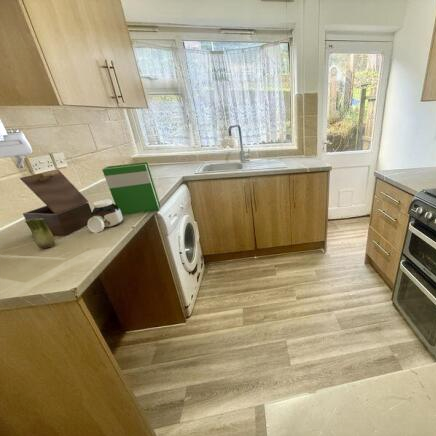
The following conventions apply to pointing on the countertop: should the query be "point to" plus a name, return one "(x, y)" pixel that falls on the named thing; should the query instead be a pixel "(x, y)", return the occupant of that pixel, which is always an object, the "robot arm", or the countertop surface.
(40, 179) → the chest lid
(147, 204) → the hardback book
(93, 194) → the countertop surface
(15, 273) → the countertop surface
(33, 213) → the chest
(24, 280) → the countertop surface
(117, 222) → the spread jar
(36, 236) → the fennel bulb
